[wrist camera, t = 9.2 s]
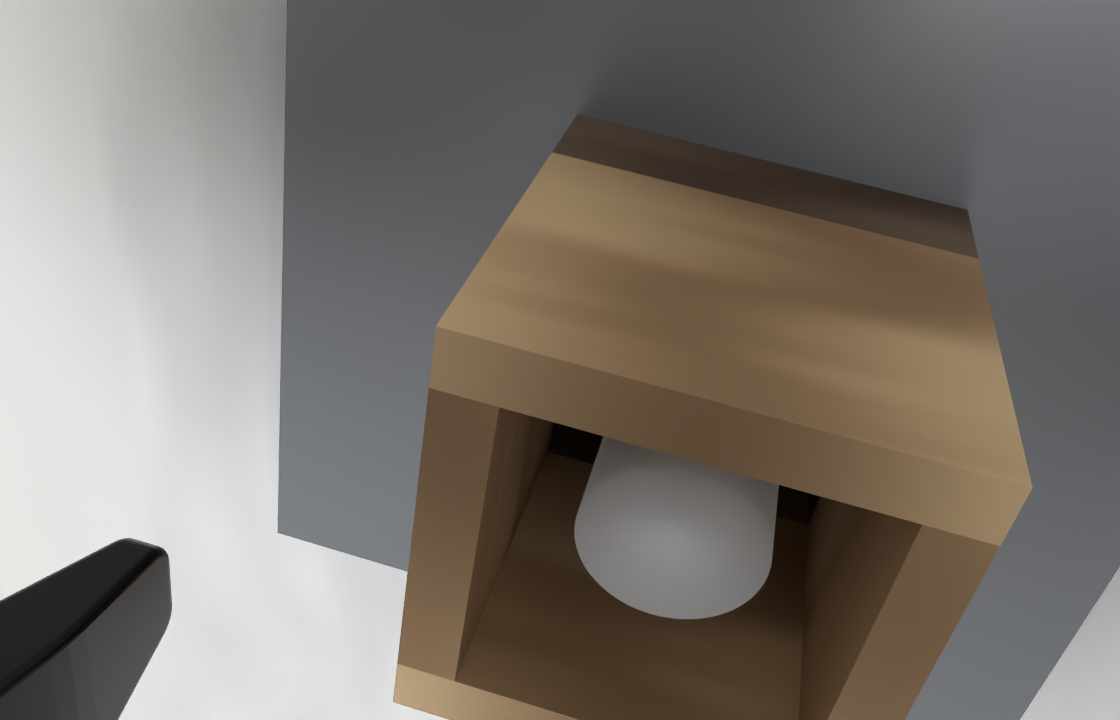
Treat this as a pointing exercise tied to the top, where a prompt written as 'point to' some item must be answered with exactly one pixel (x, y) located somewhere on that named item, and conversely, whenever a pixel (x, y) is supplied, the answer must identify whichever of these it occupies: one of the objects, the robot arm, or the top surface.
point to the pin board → (741, 127)
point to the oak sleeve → (708, 438)
